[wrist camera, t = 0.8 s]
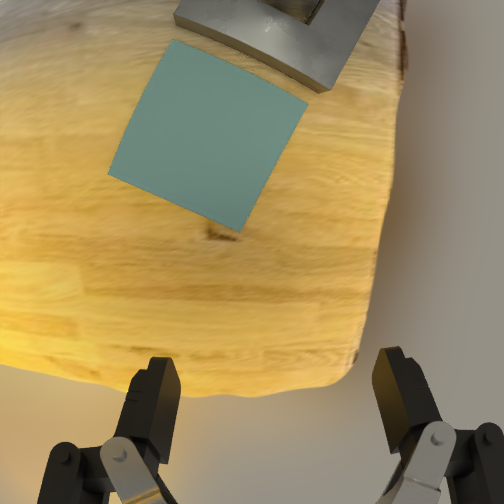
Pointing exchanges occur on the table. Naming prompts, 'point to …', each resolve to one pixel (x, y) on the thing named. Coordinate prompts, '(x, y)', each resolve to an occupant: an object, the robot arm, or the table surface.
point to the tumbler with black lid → (292, 6)
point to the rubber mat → (206, 135)
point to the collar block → (283, 34)
